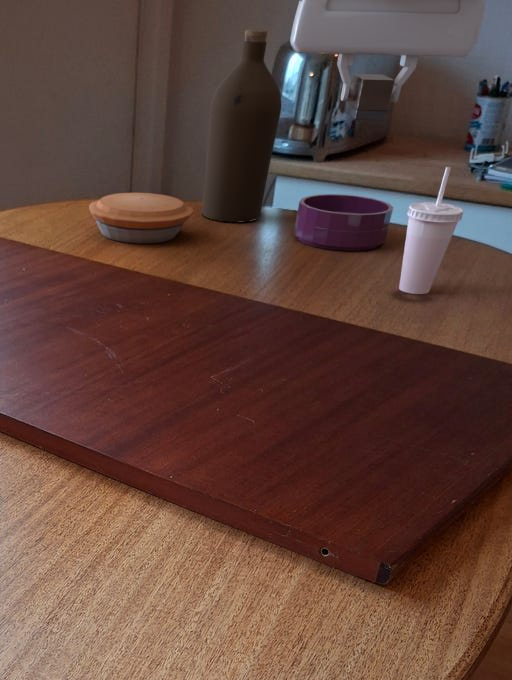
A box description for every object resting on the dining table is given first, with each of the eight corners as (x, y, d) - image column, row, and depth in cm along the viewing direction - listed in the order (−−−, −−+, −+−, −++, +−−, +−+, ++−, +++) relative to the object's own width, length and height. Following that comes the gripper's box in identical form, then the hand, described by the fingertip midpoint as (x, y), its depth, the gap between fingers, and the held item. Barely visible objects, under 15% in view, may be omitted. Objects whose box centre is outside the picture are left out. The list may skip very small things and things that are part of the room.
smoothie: (445, 288, 113) (481, 167, 105) (432, 300, 109) (469, 175, 101) (396, 279, 116) (426, 161, 108) (381, 291, 112) (412, 169, 103)
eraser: (345, 112, 106) (353, 73, 104) (374, 113, 106) (383, 74, 104) (354, 120, 102) (363, 79, 99) (385, 120, 102) (394, 80, 99)
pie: (148, 254, 124) (151, 215, 121) (66, 233, 133) (68, 197, 130) (210, 234, 133) (214, 199, 130) (130, 217, 142) (133, 182, 139)
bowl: (373, 230, 137) (382, 195, 133) (392, 253, 126) (402, 216, 123) (287, 227, 137) (294, 192, 134) (300, 250, 127) (307, 212, 124)
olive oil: (271, 224, 139) (303, 33, 124) (205, 224, 138) (229, 32, 123) (253, 208, 147) (281, 28, 132) (191, 208, 147) (212, 27, 131)
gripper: (307, -50, 93) (282, 102, 101) (506, -47, 91) (464, 107, 100) (298, -50, 98) (276, 95, 106) (487, -47, 96) (449, 100, 105)
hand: (368, 101), depth 103 cm, fingers closed on eraser, 3 cm apart
